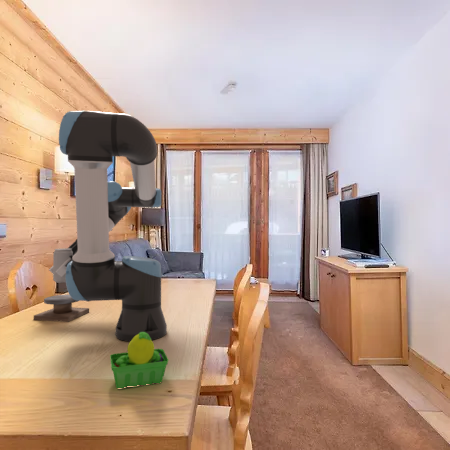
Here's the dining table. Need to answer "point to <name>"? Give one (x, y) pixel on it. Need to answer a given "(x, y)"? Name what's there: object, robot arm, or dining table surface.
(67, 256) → the beverage can
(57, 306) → the pedestal stand
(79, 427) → the dining table surface
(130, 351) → the fruit basket
